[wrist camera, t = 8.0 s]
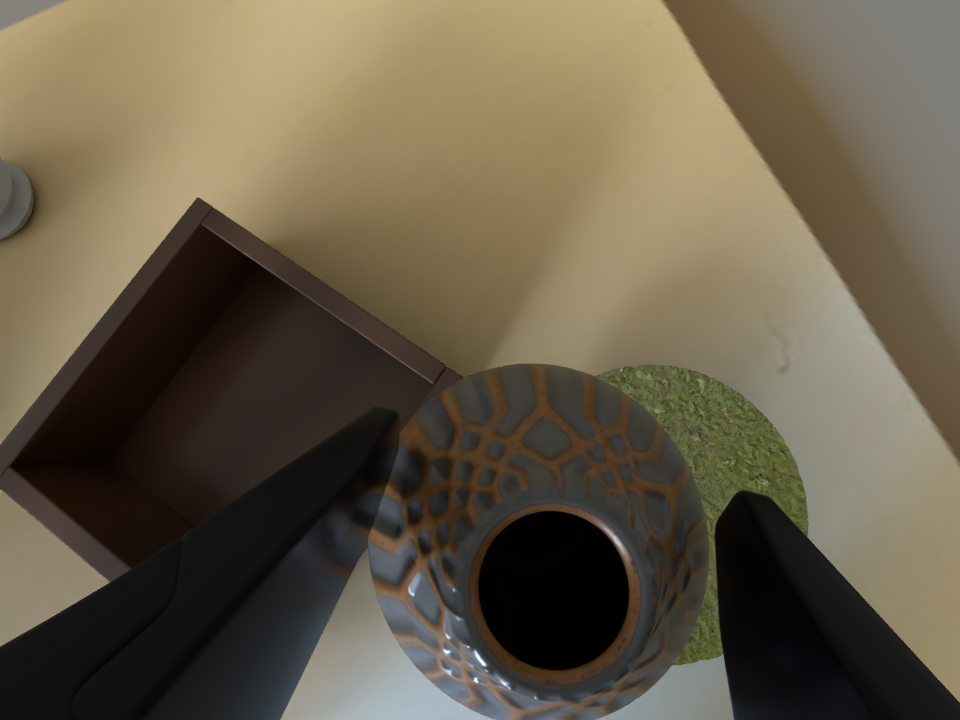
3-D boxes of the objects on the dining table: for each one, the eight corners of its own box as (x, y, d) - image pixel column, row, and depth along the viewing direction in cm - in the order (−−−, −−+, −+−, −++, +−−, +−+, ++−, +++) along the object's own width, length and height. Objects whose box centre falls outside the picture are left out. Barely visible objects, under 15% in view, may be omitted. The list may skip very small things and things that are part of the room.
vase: (552, 679, 13) (640, 1114, 5) (361, 524, 14) (147, 650, 6) (688, 476, 14) (978, 530, 5) (498, 340, 15) (490, 205, 6)
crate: (473, 391, 22) (465, 378, 17) (305, 636, 20) (244, 697, 16) (260, 245, 23) (197, 196, 18) (91, 463, 22) (-22, 471, 17)
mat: (833, 570, 20) (869, 585, 18) (587, 692, 19) (596, 721, 17) (696, 329, 21) (714, 318, 20) (469, 438, 21) (465, 438, 19)
